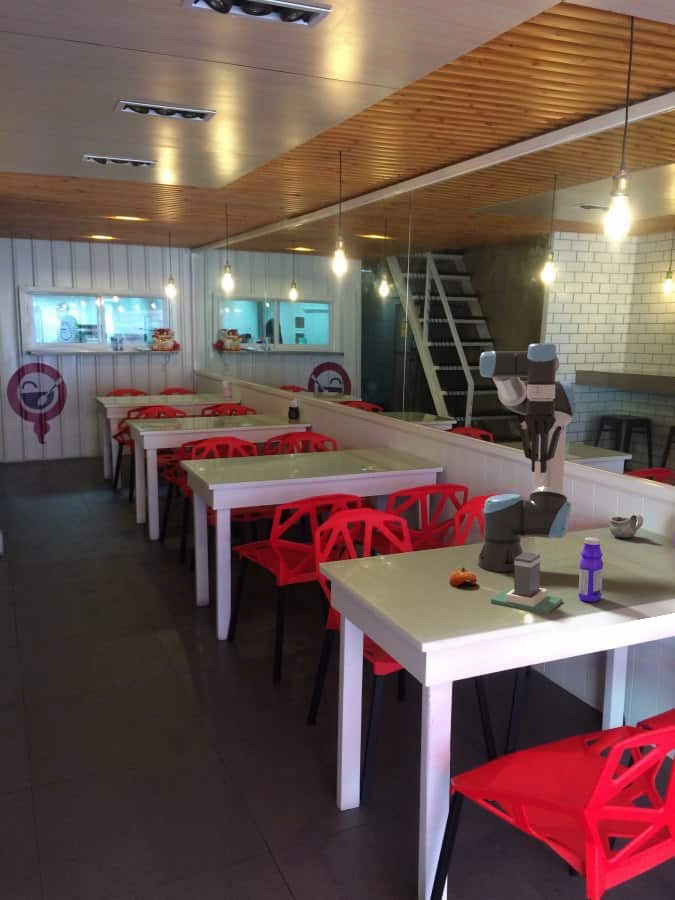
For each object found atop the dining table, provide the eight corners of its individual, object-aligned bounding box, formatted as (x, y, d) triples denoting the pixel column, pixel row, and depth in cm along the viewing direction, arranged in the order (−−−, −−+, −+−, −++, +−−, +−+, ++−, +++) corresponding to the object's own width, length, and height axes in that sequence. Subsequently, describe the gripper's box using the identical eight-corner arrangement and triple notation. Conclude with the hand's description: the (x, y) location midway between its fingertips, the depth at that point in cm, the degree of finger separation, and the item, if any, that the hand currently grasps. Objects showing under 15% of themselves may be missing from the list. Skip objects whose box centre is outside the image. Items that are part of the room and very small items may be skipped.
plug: (513, 600, 201) (514, 557, 199) (524, 592, 207) (525, 551, 206) (529, 603, 198) (530, 560, 197) (540, 595, 204) (541, 553, 203)
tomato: (484, 578, 219) (473, 564, 215) (476, 598, 215) (464, 583, 212) (462, 577, 225) (451, 563, 221) (454, 596, 221) (442, 582, 218)
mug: (617, 533, 278) (618, 507, 277) (649, 539, 269) (650, 512, 268) (604, 537, 272) (605, 511, 271) (636, 543, 263) (637, 516, 261)
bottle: (584, 593, 209) (586, 534, 207) (604, 597, 205) (607, 537, 203) (575, 600, 203) (577, 539, 201) (595, 604, 200) (597, 543, 198)
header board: (490, 602, 202) (491, 592, 202) (508, 591, 212) (508, 581, 212) (546, 614, 193) (547, 603, 193) (562, 601, 203) (562, 591, 202)
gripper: (513, 399, 202) (511, 483, 205) (559, 401, 194) (556, 488, 197) (523, 398, 208) (521, 479, 211) (568, 399, 200) (566, 484, 203)
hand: (538, 483), depth 204 cm, fingers closed
